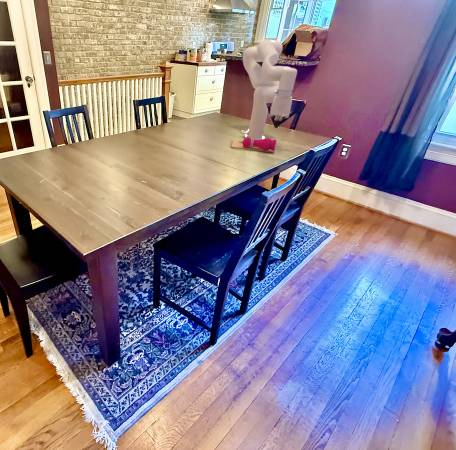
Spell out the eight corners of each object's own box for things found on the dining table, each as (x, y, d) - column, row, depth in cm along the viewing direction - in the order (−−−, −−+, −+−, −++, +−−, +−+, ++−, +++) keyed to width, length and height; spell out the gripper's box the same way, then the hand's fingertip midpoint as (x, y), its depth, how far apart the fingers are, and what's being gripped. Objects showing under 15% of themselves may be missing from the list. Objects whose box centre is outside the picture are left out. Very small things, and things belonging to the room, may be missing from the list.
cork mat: (231, 147, 182) (231, 146, 182) (233, 141, 194) (233, 140, 194) (273, 152, 177) (273, 151, 177) (272, 145, 189) (272, 144, 188)
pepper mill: (275, 144, 170) (238, 140, 177) (273, 154, 176) (238, 150, 183) (277, 136, 174) (241, 132, 181) (275, 146, 179) (241, 142, 186)
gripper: (270, 93, 165) (262, 127, 175) (299, 95, 162) (290, 130, 172) (269, 91, 171) (262, 124, 181) (298, 93, 168) (289, 127, 178)
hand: (276, 127), depth 176 cm, fingers closed
